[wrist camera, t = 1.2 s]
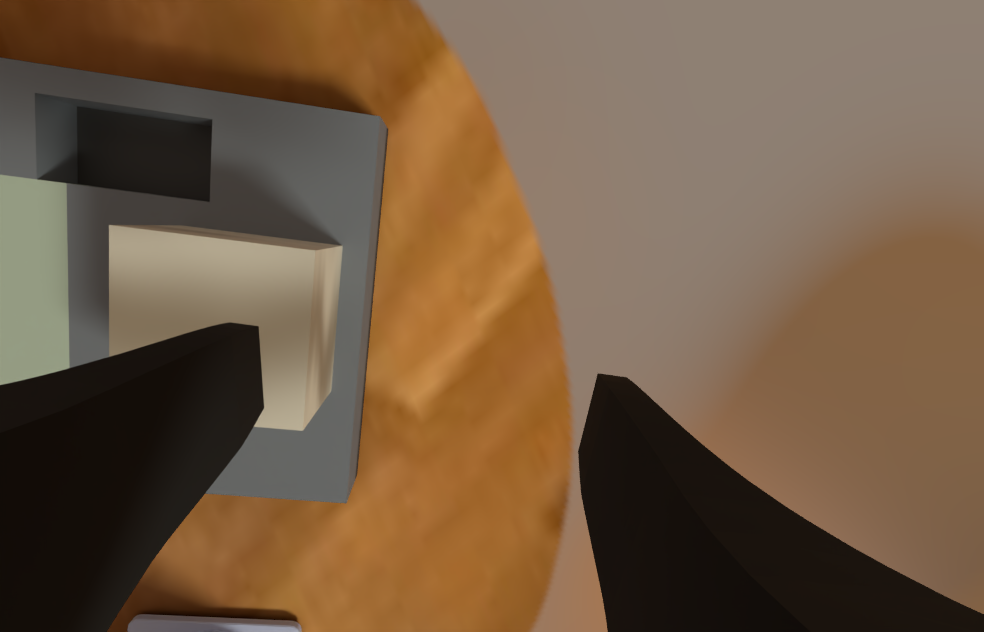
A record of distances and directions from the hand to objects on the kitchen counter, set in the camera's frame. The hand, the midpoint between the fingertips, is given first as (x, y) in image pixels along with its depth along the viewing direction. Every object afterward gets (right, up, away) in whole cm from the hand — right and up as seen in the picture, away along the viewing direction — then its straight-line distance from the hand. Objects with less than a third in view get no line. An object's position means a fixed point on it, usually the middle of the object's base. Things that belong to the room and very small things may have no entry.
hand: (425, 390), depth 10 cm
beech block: (-8, +2, +9) cm, 12 cm away
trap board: (-13, +3, +11) cm, 17 cm away
